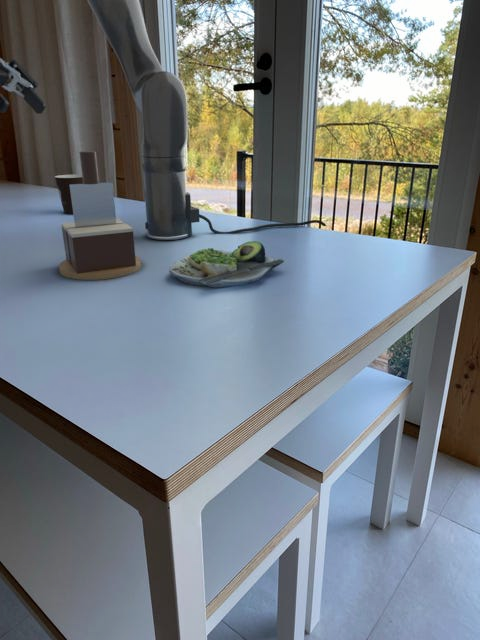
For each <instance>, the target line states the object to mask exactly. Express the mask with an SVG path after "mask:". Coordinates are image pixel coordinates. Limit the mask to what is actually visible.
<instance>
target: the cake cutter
mask: <svg viewBox="0 0 480 640" xmlns="http://www.w3.org/2000/svg"><path fill="white" fill-rule="evenodd" d="M97 157H98V156H97V151H96V150H95V151H93V150H92V151H91V150H86V151H85V150H83V151H82V150H81V151H79V161H80V168H81V175H82V178H83V184H70V192H71V200H72V207H73V215H72V216H73V222H75V227H84V226H95V225H106V224H116V218H117V216H116V206H115V205H116V204H115V194H114V185H113V182H112V181H109V182H108V181H107V182H100V178H99V177H100V176H99V168H98V158H97Z"/></svg>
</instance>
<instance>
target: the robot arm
mask: <svg viewBox="0 0 480 640" xmlns="http://www.w3.org/2000/svg"><path fill="white" fill-rule="evenodd" d="M86 1H87V3H88V5H89V7H90V10H92V12H93V15H94V16H95V18H96V21H97V22H98V24H99V26H100V28H101V30H102V32H103V33H104V35H105V36H106V39H107V41H108V43H109V44H110V46H111V48H112V50H113V51H114V53H115V55H116V57H117V59H118V61H119V63H120V65H121V68H122V71H123V73H124V76H125V78H126V82H127V83H128V86H129V89H130V92H131V94H132V97H133V100H134V102H135V105H136V107H137V110H138V111H139V112H140V114H141V115H142V131H143V133H142V140H141V146H140V147H141V160H142V161H141V162H142V173H143V190H144V199H145V200H144V201H145V214H146V215H145V216H146V222H144V225H145V230H146V231H147V232H146V235H147V238H149V239H151V240H155V241H156V240H157V241H175V240H182V239H185V238H189V237H192V236H193V231H192V230H193V227H192V224H194V223H200V219H202V220H204V221H205V222H206V223H207V224H208V226H209V230H210V231H211V232H212V233H214V234H216V235H217V234H218V235H229V234H230V235H232V234H233V235H234V234H240V233H247V232H253V231H257V230H261V229H265V228H266V229H267V228H274V227H296V226H297V227H298V226H299V227H301V226H306V225H310V224H320V225H321V226H322V227H327V224H326V223H325V222H324V221H322V220H319V219H312V220H311V219H310V220H306V221H302V222H280V223H279V222H277V223H269V224H268V223H267V224H262V225H258V226H253V227H246V228H241V229H240V228H239V229H236V230H230V231H219V230H216V229H215V228H214V227H213V224H212V221H211V220H210V219H209V218H208V217H206V216H204V215H203V214H200V209H199V208H198V207H195V206H192V199H191V197H192V196H191V193H190V192H188V184H187V183H188V181H187V161H186V149H187V143H188V137H189V136H188V130H189V129H188V127H189V125H188V119H189V118H188V98H187V97H188V96H187V92H186V88H185V86H184V84H183V82H182V81H181V79H180V78H179V77H178V76H177V75H176V74H174V73H172V72H169V71H165V70H164V69H163V67H162V65H161V63H160V61H159V59H158V57H157V55H156V53H155V51H154V49H153V47H152V44H151V42H150V41H151V40H150V39H149V34H148V30H147V26H146V21H145V17H144V13H143V8H142V4H141V1H140V0H86ZM9 79H12V80H11V81H10V83H8V81H9ZM38 86H39V84H38V82H37V81H36V80H35V79H34V78H33V77H32V76H31V75H30V74H29V72H28V71H27V70H25V69H24V67H23V66H21V64H20V63H19V62H18V61H17V60H16V59H14V58H11V59H10V60H9V62H6V61H5V60H4V59H3V58H1V57H0V87H1V88H3V89H4V90H6V91H8V92H9V93H12V92H14V93H15V94H17V95H19V96H20V97H22V98H23V100H24V101H25V102H26V103H27V104H28V106H29V107H30V108H31V109H32V110H33V112H35V113H36V114H37V115H41V114H43V113H44V111H45V110H46V107H47V104H46V102H45V101H44V100H43V99H42V98H41V97H40V95H39V94H38V93H37V92H36V90H37V88H38ZM9 106H10V103H9V101H8V100H7V98H6V97H5V96H4V95H3V94H2V93H1V92H0V113H1V114H5V113H6V111H7V109H8V108H9Z"/></svg>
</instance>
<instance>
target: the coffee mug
mask: <svg viewBox="0 0 480 640" xmlns="http://www.w3.org/2000/svg"><path fill="white" fill-rule="evenodd" d="M54 179H55V182H56V183H55V184H56V187H57V191H58V195H59V198H60V201H61V206H62V209H63V214H64V215H72V216H74V215H73V207H72V200H71V192H70V184H83V178H82V174H60V175H55V176H54Z"/></svg>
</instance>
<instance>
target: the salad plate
mask: <svg viewBox="0 0 480 640" xmlns="http://www.w3.org/2000/svg"><path fill="white" fill-rule="evenodd" d="M283 263H285V260H284V259H277V260H275V259H274V258H273V257H271V256H270V255H269V256H268V255H266V249H265V246H264V244H263V243H262V242H261V241H257V240H253V241H247V242H244V243H242V244H240V245H237V248H236V249H234V250H233V251H229V250H221V249H215V248H213V247H211V248H210V247H209V248H207V249H206V248H203V249H200V250H197V251H195V252H191V253H190V254H188V255H186V256H185V257H182V258H181V259H179V260H178V261H176V262H174V263H172V264H171V265H169V267H168V269H169V273H170V274H171V275H172V276H174V277H175V278H177V279H178V280H179V281H181V282H182V283H184V284H187V285H191V286H199V287H207V288H208V287H209V288H225V287H226V288H227V287H237V286H243V285H249V284H253V283H256V282H257V281H259V280H260V279H262V278H263V277H264V276H265V275H267V274H268V273H269V272H270V271H272V270H273V269H275V268H276V267H278V266H280V265H281V264H283Z"/></svg>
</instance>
